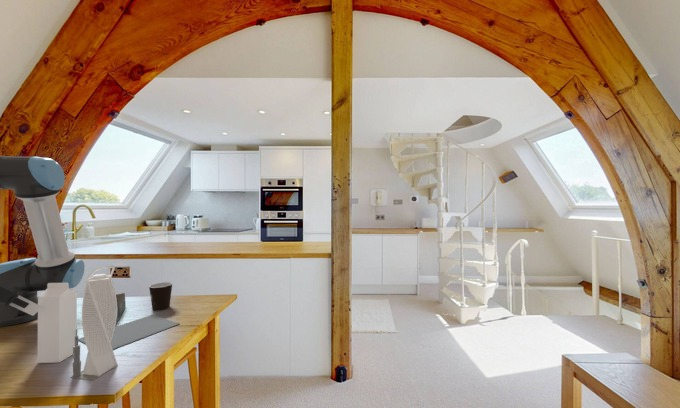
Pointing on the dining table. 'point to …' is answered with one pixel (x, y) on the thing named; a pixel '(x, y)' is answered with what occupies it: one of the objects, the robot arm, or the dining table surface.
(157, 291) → the coffee mug
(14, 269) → the robot arm
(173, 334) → the dining table surface
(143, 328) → the mat
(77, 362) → the skyscraper
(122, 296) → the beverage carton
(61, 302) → the milk
